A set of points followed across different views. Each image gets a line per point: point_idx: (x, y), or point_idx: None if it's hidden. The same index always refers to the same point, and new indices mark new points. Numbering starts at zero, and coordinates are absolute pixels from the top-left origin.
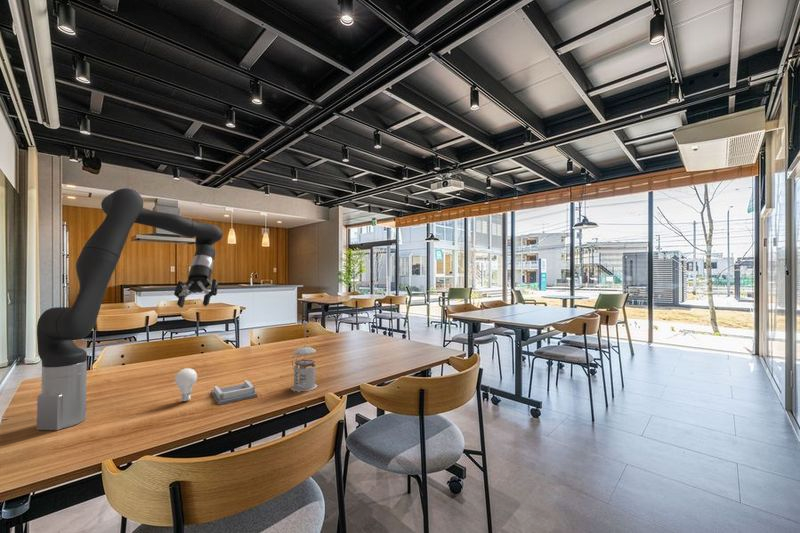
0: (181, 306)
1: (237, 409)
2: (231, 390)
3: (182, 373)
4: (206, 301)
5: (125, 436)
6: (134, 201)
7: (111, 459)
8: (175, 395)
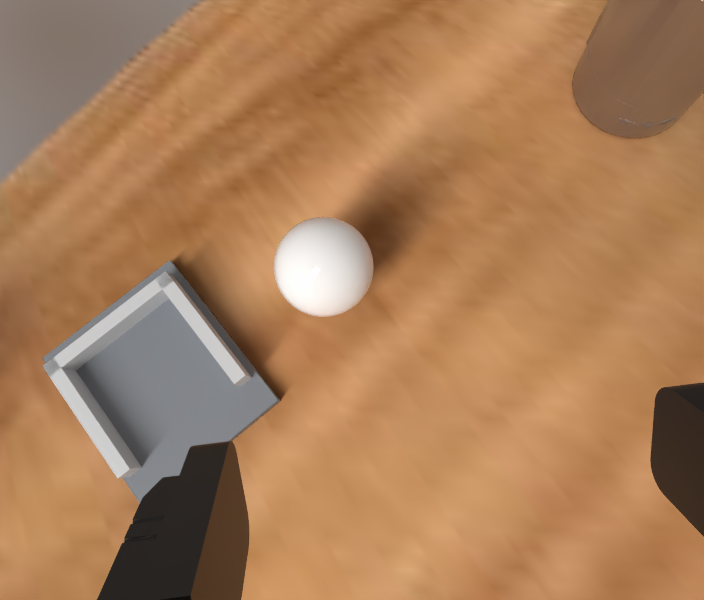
0: (656, 434)
1: (85, 228)
2: (177, 398)
3: (317, 220)
4: (165, 498)
5: (341, 27)
6: None
7: None
8: (429, 362)
